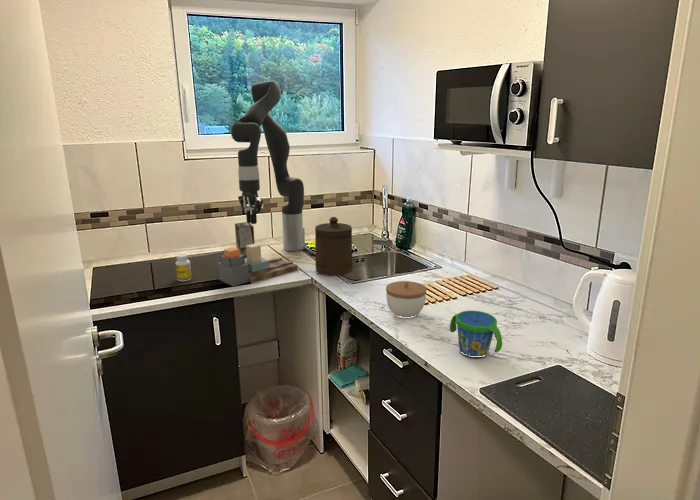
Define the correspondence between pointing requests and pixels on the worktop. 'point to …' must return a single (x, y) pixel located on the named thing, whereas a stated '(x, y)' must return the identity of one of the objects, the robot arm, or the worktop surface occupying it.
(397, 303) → the lidded bowl
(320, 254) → the wooden container
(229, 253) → the button
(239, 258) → the cabinet
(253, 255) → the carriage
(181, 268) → the supplement bottle
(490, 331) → the snack cup
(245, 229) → the coffee box
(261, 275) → the rail bed
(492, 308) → the worktop surface
